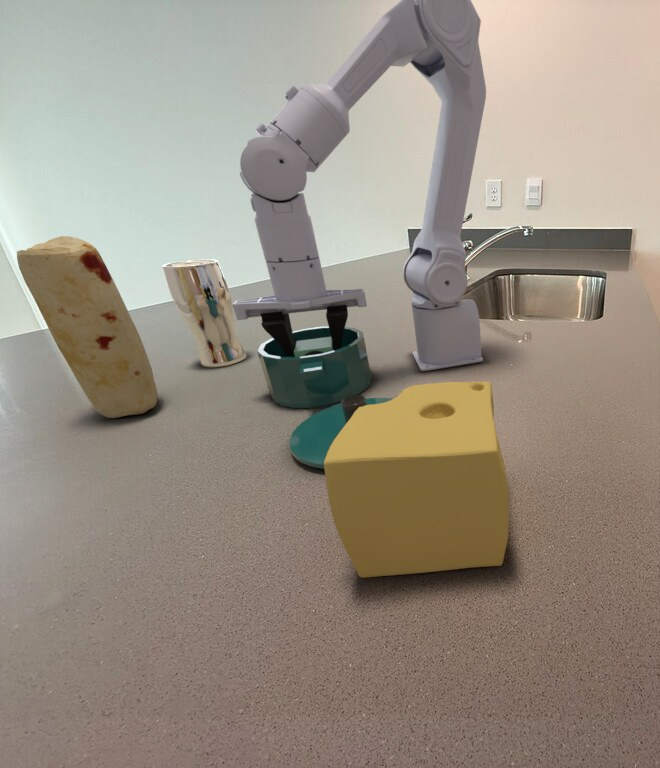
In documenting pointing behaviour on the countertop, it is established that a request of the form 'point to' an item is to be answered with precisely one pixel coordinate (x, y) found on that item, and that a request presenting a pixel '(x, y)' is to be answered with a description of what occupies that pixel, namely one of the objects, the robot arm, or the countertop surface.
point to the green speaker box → (313, 346)
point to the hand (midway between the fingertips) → (318, 365)
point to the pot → (316, 370)
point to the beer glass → (206, 309)
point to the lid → (325, 429)
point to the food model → (90, 324)
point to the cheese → (421, 482)
